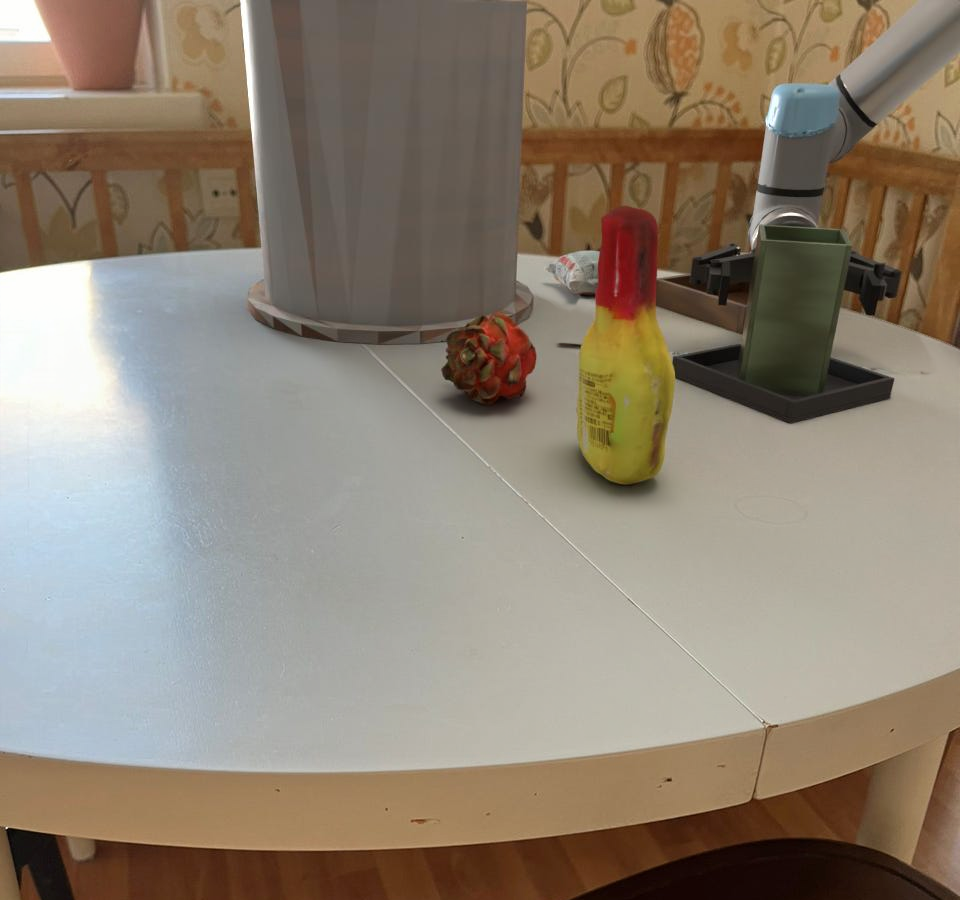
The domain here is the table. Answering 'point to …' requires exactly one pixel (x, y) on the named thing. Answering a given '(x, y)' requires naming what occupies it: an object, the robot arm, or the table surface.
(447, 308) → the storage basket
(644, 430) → the bottle
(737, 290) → the brown wooden tray
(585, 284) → the packaged food
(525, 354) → the dragon fruit
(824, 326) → the tall basket
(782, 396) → the tray
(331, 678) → the table surface
